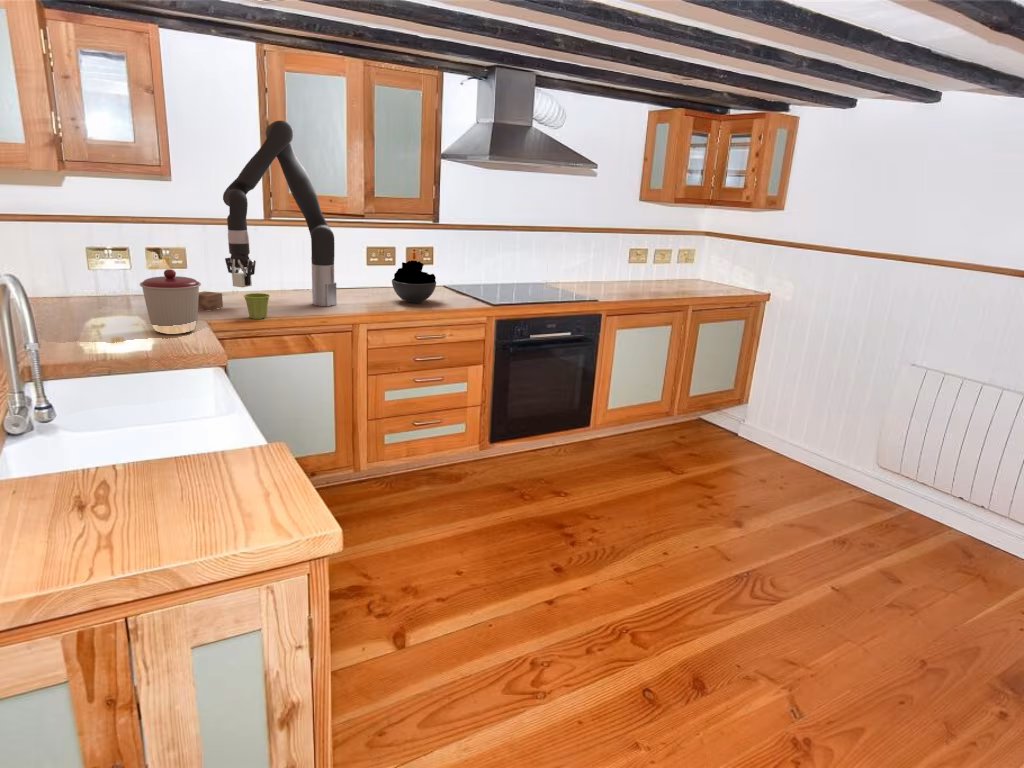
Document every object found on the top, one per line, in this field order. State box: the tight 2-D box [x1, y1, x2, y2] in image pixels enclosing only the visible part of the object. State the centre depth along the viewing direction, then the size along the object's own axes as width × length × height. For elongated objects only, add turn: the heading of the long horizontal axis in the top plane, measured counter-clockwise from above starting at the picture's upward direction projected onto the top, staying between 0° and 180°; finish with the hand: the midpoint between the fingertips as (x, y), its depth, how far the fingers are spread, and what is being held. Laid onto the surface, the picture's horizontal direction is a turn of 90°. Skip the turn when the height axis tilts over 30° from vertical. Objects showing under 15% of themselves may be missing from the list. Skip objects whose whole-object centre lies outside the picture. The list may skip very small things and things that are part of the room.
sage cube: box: [231, 271, 253, 289], centre depth 261 cm, size 5×5×5 cm
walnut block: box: [198, 290, 224, 311], centre depth 257 cm, size 8×8×6 cm
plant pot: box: [243, 292, 271, 320], centre depth 247 cm, size 9×9×9 cm
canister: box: [139, 268, 202, 326], centre depth 218 cm, size 18×18×21 cm
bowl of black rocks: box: [391, 260, 437, 304], centre depth 296 cm, size 20×20×19 cm
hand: (242, 284), depth 261 cm, fingers closed on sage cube, 5 cm apart
